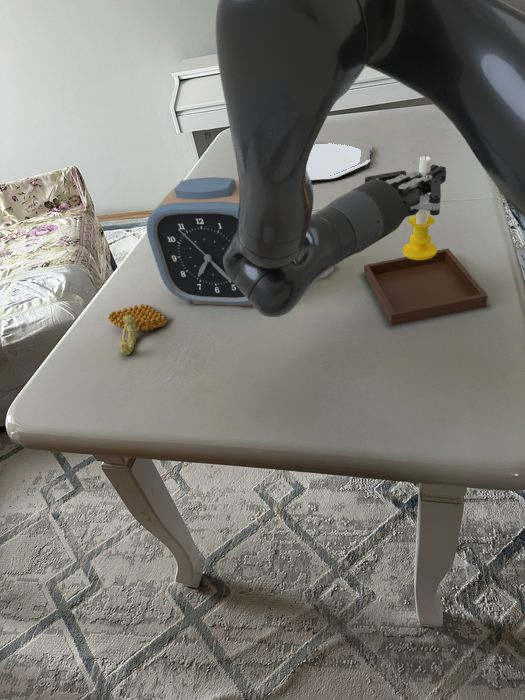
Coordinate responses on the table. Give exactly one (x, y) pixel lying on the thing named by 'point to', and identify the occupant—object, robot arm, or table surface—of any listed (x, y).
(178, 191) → the alarm clock
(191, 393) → the table surface
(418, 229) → the candle
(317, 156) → the plate
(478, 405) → the table surface
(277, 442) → the table surface
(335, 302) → the table surface
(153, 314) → the ornament
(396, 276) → the tray
